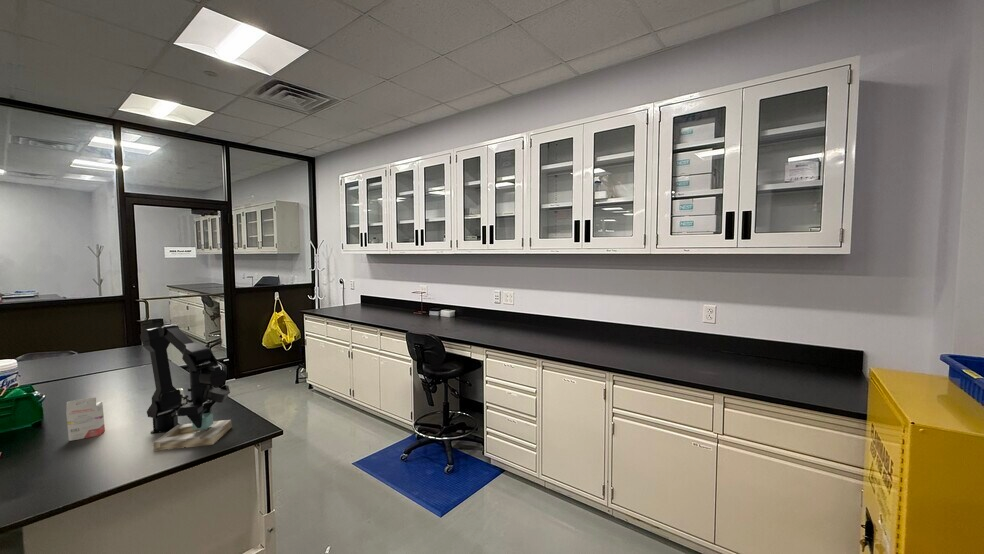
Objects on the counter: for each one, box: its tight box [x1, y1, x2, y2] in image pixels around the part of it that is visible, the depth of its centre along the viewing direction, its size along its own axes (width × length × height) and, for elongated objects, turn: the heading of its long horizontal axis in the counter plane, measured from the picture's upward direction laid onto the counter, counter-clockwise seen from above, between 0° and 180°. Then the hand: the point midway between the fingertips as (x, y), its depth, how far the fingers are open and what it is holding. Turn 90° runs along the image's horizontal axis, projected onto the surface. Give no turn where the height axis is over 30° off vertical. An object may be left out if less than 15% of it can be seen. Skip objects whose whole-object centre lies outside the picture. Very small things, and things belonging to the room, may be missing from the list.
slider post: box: [191, 412, 214, 432], centre depth 139 cm, size 6×6×7 cm
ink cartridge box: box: [65, 397, 106, 442], centre depth 142 cm, size 9×5×15 cm, turn 117°
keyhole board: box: [152, 419, 232, 451], centre depth 138 cm, size 18×14×3 cm
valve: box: [178, 388, 190, 407], centre depth 170 cm, size 7×7×12 cm
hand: (202, 425), depth 139 cm, fingers closed on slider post, 4 cm apart
